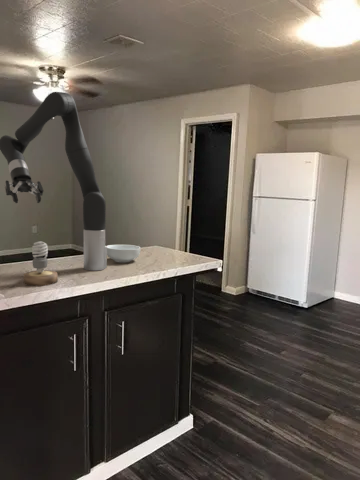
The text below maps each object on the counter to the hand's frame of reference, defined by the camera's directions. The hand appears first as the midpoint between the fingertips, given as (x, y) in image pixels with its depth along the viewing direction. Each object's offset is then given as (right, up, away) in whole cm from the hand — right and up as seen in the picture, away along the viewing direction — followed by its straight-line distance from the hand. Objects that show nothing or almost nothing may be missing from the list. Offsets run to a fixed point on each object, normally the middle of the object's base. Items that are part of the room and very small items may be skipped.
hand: (28, 201), depth 158 cm
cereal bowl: (+33, -26, +33) cm, 53 cm away
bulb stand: (+9, -31, -10) cm, 34 cm away
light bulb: (+9, -28, -10) cm, 31 cm away
